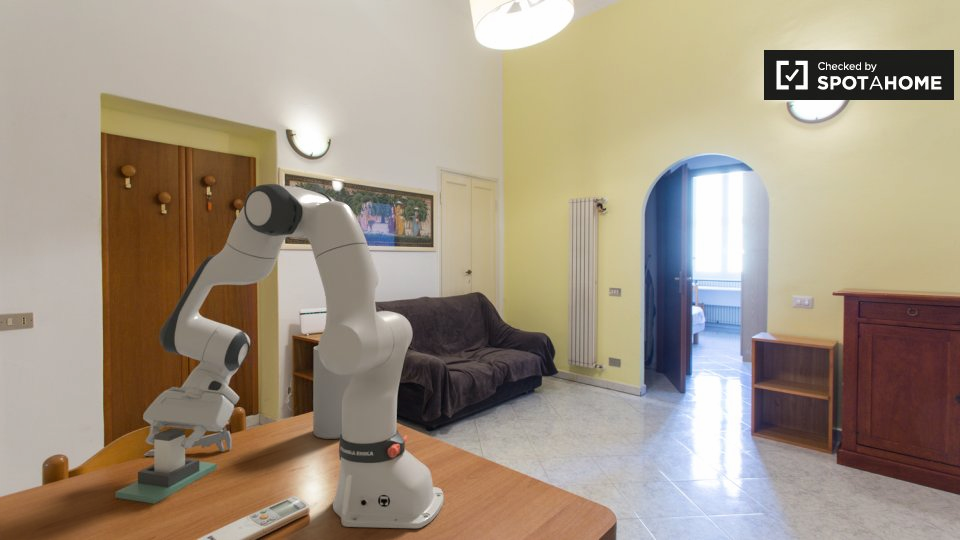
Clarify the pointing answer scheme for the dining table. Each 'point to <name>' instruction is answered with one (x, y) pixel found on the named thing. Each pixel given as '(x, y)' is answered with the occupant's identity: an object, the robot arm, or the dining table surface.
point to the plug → (169, 450)
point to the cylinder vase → (327, 400)
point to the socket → (164, 481)
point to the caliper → (209, 441)
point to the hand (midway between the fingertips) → (167, 445)
